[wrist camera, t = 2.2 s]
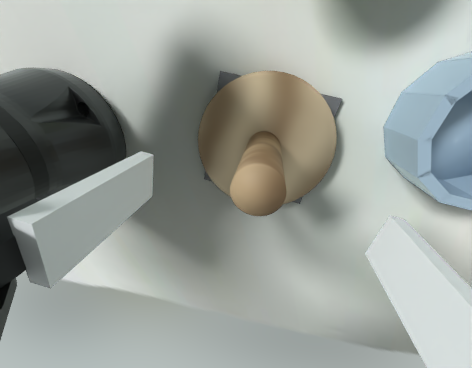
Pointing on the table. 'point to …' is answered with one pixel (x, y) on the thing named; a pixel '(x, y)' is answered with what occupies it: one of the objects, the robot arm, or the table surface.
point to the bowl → (435, 132)
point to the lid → (267, 140)
